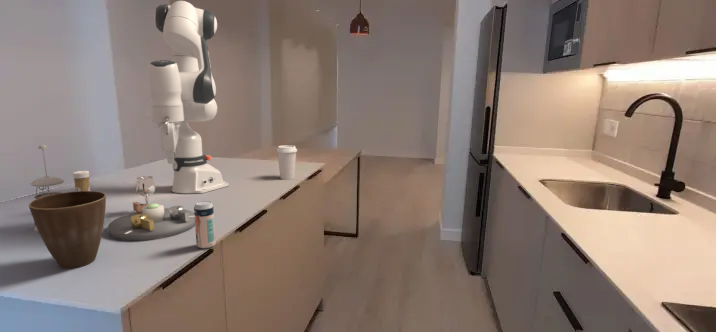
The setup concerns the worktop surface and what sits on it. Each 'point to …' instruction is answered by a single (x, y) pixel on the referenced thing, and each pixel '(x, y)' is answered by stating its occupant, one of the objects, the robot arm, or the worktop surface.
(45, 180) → the vented spool lamp
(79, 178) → the sprinkles bottle
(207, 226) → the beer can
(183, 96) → the robot arm
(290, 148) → the coffee cup
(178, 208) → the knob steel
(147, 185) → the wineglass
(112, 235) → the tribrach
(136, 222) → the knob brass
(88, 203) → the plant pot
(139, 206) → the knob copper
